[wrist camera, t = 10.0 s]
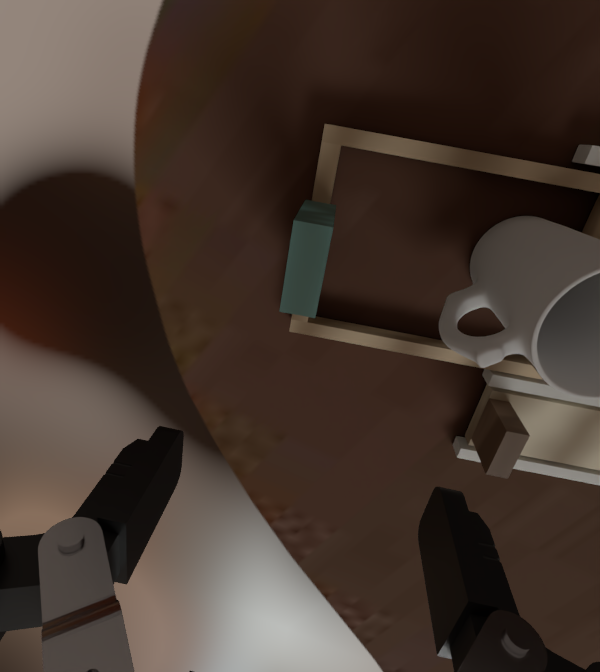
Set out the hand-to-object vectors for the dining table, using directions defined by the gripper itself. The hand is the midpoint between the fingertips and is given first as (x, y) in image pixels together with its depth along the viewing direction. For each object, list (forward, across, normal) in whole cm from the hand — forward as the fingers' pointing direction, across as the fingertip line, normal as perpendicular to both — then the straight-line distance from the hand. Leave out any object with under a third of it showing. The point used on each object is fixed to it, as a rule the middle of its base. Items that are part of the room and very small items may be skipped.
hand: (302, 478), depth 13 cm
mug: (+20, -11, -3) cm, 23 cm away
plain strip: (+20, -22, +8) cm, 31 cm away
